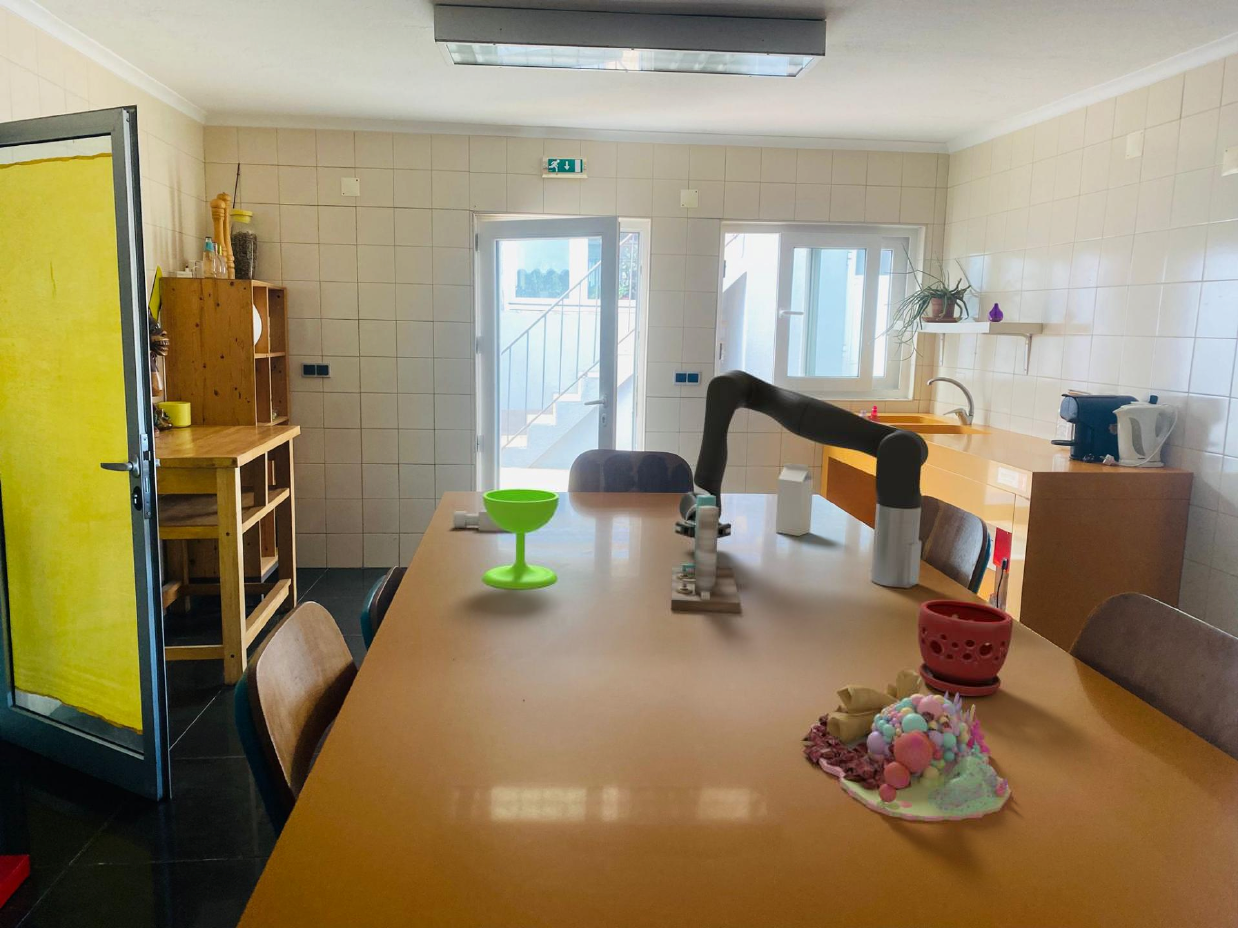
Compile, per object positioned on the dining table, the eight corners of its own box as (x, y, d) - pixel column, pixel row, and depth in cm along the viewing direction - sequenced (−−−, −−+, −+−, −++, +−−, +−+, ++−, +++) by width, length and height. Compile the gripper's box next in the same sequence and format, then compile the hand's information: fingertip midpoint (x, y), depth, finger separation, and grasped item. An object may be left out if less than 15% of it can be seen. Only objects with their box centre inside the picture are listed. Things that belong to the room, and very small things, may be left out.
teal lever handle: (682, 568, 184) (685, 493, 182) (712, 570, 183) (715, 495, 181) (682, 573, 180) (685, 497, 178) (713, 575, 179) (716, 498, 177)
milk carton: (798, 536, 232) (803, 467, 229) (775, 532, 236) (778, 464, 233) (810, 532, 237) (814, 464, 235) (786, 528, 242) (790, 461, 239)
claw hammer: (470, 495, 258) (453, 510, 228) (544, 497, 258) (536, 513, 228) (469, 513, 258) (452, 531, 228) (543, 515, 259) (536, 533, 229)
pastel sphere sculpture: (770, 738, 112) (773, 671, 111) (908, 711, 122) (914, 649, 121) (906, 840, 90) (913, 757, 88) (1063, 797, 99) (1072, 722, 98)
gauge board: (672, 573, 190) (675, 489, 188) (731, 576, 189) (735, 491, 187) (671, 609, 165) (674, 512, 162) (739, 612, 164) (744, 515, 161)
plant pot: (1015, 706, 124) (1023, 626, 122) (920, 697, 126) (926, 618, 125) (995, 673, 136) (1002, 600, 135) (908, 665, 139) (914, 593, 137)
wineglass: (563, 570, 190) (564, 490, 188) (550, 590, 175) (552, 503, 172) (492, 566, 192) (493, 487, 189) (473, 586, 176) (473, 500, 174)
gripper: (730, 537, 200) (734, 555, 183) (673, 535, 201) (672, 552, 183) (731, 506, 199) (736, 521, 182) (674, 503, 200) (673, 518, 182)
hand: (704, 537), depth 183 cm, fingers closed
